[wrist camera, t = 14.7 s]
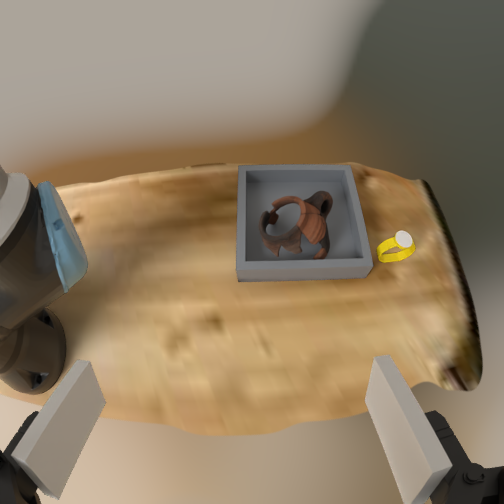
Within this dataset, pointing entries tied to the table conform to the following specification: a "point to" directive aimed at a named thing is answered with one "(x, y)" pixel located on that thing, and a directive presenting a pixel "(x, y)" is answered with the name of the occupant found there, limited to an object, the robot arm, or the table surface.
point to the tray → (303, 186)
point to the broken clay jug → (300, 224)
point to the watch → (399, 240)
